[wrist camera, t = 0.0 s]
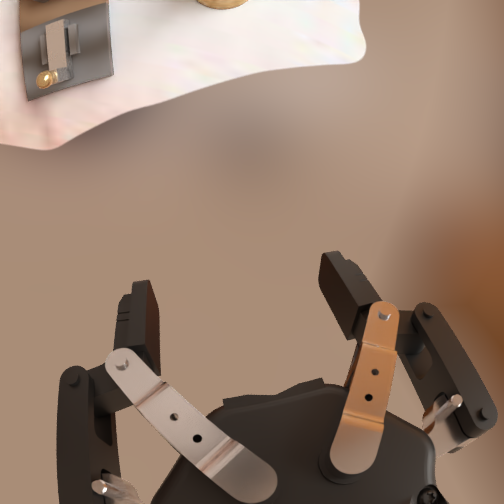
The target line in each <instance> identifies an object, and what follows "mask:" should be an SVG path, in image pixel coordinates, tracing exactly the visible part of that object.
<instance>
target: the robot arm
mask: <svg viewBox="0 0 504 504" xmlns="http://www.w3.org/2000/svg"><path fill="white" fill-rule="evenodd" d="M318 281H319V287H320V289H321V291H322V293H323V295H324V297H325V298H326V301H327V303H328V305H329V306H330V308H331V310H332V312H333V314H334V316H335V318H336V320H337V322H338V324H339V326H340V327H341V329H342V331H343V333H344V335H345V337H346V339H347V340H351V339H356V341H357V345H356V348H355V351H354V355H353V358H352V362H351V365H350V368H349V372H348V375H347V378H346V381H345V383H344V386H343V387H342V386H339V385H335V384H324V382H323V379H322V378H318V379H315V380H311V381H307V382H303V383H299V384H297V385H295V386H293V387H291V388H289V389H287V390H285V391H283V392H281V393H279V394H277V395H243V396H238V397H232V398H226V399H223V404H224V405H223V406H221V407H219V408H217V409H215V410H213V411H212V412H211V413H209V414H208V415H207V416H206V417H204V416H203V415H202V414H201V413H200V412H199V411H198V410H196V409H195V408H194V407H193V406H192V405H191V404H190V403H189V402H188V401H186V400H185V399H184V398H183V397H182V396H181V395H180V394H179V393H178V392H177V391H176V390H175V389H174V388H172V387H171V386H170V385H169V384H168V383H167V382H163V381H162V380H160V379H159V378H158V377H157V376H161V368H160V330H159V329H160V326H159V308H158V304H157V301H156V298H155V295H154V292H153V289H152V286H151V283H150V281H149V280H143V281H137V282H133V284H132V293H131V294H127V295H124V296H123V297H122V299H121V301H120V302H119V305H118V315H117V322H116V329H115V339H114V349H113V352H112V353H110V354H109V355H108V357H107V359H106V362H105V363H104V364H102V365H100V366H98V367H95V368H93V369H90V370H87V371H86V370H85V369H84V368H83V367H81V366H72V367H70V368H68V369H66V370H65V371H64V372H63V374H62V375H61V378H60V384H59V395H58V410H57V479H58V493H59V504H144V503H143V502H142V501H141V500H140V498H139V496H138V493H137V491H136V489H135V487H134V486H133V485H132V484H131V483H130V482H128V481H126V480H124V479H122V478H121V473H120V465H119V456H118V446H117V434H116V420H115V412H116V411H119V410H121V409H124V408H126V407H129V406H131V405H134V406H135V408H136V409H137V410H138V411H139V412H140V413H141V414H142V416H143V417H144V418H145V419H146V420H147V421H148V422H149V423H150V424H151V425H152V426H153V427H154V428H155V430H156V431H158V433H159V434H160V435H161V436H162V437H163V438H164V439H165V440H166V441H167V442H168V443H169V444H170V445H171V446H172V447H173V448H174V449H175V450H176V451H177V452H179V454H180V456H179V458H178V460H177V461H176V463H175V464H174V466H173V468H172V469H171V471H170V472H169V474H168V476H167V477H166V478H165V480H164V482H163V483H162V485H161V486H160V488H159V489H158V491H157V492H156V494H155V495H154V497H153V499H152V501H151V504H449V503H448V502H447V501H446V499H445V498H444V497H443V496H442V494H441V493H440V492H439V490H438V488H437V485H436V480H435V459H436V458H438V457H440V456H442V455H443V454H445V453H454V452H456V451H458V450H460V449H461V448H463V447H464V446H466V445H468V444H469V443H471V442H472V441H474V440H475V439H476V438H478V437H479V436H481V435H482V434H484V433H485V432H486V431H488V430H489V429H491V428H492V427H493V426H494V425H495V423H496V421H497V415H498V413H497V409H496V407H495V405H494V403H493V401H492V399H491V397H490V395H489V393H488V391H487V389H486V387H485V385H484V384H483V382H482V380H481V378H480V376H479V374H478V373H477V371H476V369H475V367H474V366H473V364H472V362H471V360H470V359H469V357H468V356H467V354H466V352H465V350H464V349H463V347H462V345H461V344H460V342H459V340H458V339H457V337H456V336H455V334H454V333H453V331H452V329H451V328H450V326H449V325H448V323H447V322H446V320H445V319H444V317H443V316H442V314H441V312H440V311H439V310H438V308H437V307H435V306H434V305H432V304H430V303H426V302H423V303H419V304H418V305H417V306H416V307H415V309H414V311H401V310H397V308H396V307H395V306H394V305H392V304H391V303H388V302H384V301H382V300H381V298H380V297H379V295H378V294H377V292H376V291H375V289H374V288H373V287H372V285H371V284H370V282H369V281H368V280H367V278H366V276H365V275H364V274H363V272H362V271H361V269H360V268H359V266H358V265H356V264H355V263H354V262H352V261H351V260H345V259H344V258H343V256H342V255H341V253H340V252H339V251H333V252H327V253H323V254H322V257H321V263H320V270H319V277H318ZM397 354H398V355H399V357H400V359H401V361H402V363H403V365H404V367H405V369H406V371H407V373H408V375H409V377H410V379H411V381H412V384H413V386H414V388H415V390H416V392H417V394H418V396H419V398H420V401H421V403H422V405H423V407H424V409H425V412H424V414H423V418H422V421H423V426H422V427H423V430H424V431H423V430H421V429H420V428H418V427H416V426H414V425H412V424H410V423H408V422H407V421H405V420H403V419H401V418H399V417H397V416H395V415H394V414H392V413H390V412H388V411H386V409H387V404H388V399H389V395H390V391H391V386H392V381H393V376H394V370H395V364H396V359H397Z"/></svg>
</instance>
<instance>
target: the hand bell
mask: <svg viewBox="0 0 504 504" xmlns="http://www.w3.org/2000/svg"><path fill="white" fill-rule="evenodd" d="M197 1H198V2H200V3H201V4H203V5H205V6H208V7H210V8H215V9H230V8H234V7H237V6H240V5H242V4H243V3H245V2H246V1H248V0H197Z"/></svg>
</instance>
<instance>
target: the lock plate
mask: <svg viewBox="0 0 504 504" xmlns="http://www.w3.org/2000/svg"><path fill="white" fill-rule="evenodd" d="M61 19H66V20H69V25H68V33H69V46H70V55H71V58H72V67H73V75H74V78H72V79H69V80H65V81H62V82H59V83H56V84H53V85H50V86H49V87H47V88H44V89H42V88H41V89H40V88H39V87H38V86H37V84H36V79H37V76H38V75H39V74H40V73H41V72H43V71H49V63H48V54H47V42H46V25H48V24H51V23H53V22H56V21H59V20H61ZM20 36H21V51H22V61H23V70H24V78H25V85H26V92H27V98H28V101H31V100H33V99H36V98H38V97H41V96H44V95H47V94H49V93H52V92H55V91H58V90H61V89H64V88H68V87H71V86H74V85H77V84H81V83H84V82H88V81H91V80H95V79H99V78H103V77H107V76H111V75H114V71H113V61H112V51H111V38H110V23H109V0H20Z"/></svg>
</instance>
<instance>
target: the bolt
mask: <svg viewBox="0 0 504 504" xmlns="http://www.w3.org/2000/svg"><path fill="white" fill-rule="evenodd" d="M68 25H69V20H66V19H61V20H59V21H56V22H53V23H51V24H48V25H46V42H47V54H48V63H49V71H43V72H41V73H40V74H39V75H38V76H37V79H36V84H37V86H38V87H39V88H40V89H41V88H42V89H44V88H47V87H49V86H50V85H53V84H56V83H59V82H62V81H65V80H69V79H72V78H74V75H73V67H72V58H71V55H70V46H69V33H68Z"/></svg>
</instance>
